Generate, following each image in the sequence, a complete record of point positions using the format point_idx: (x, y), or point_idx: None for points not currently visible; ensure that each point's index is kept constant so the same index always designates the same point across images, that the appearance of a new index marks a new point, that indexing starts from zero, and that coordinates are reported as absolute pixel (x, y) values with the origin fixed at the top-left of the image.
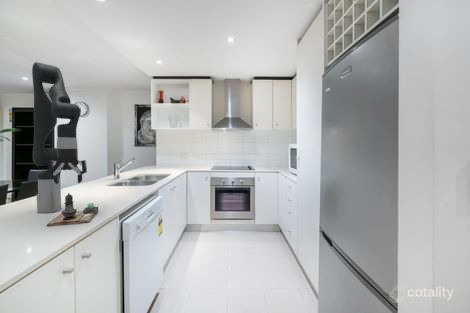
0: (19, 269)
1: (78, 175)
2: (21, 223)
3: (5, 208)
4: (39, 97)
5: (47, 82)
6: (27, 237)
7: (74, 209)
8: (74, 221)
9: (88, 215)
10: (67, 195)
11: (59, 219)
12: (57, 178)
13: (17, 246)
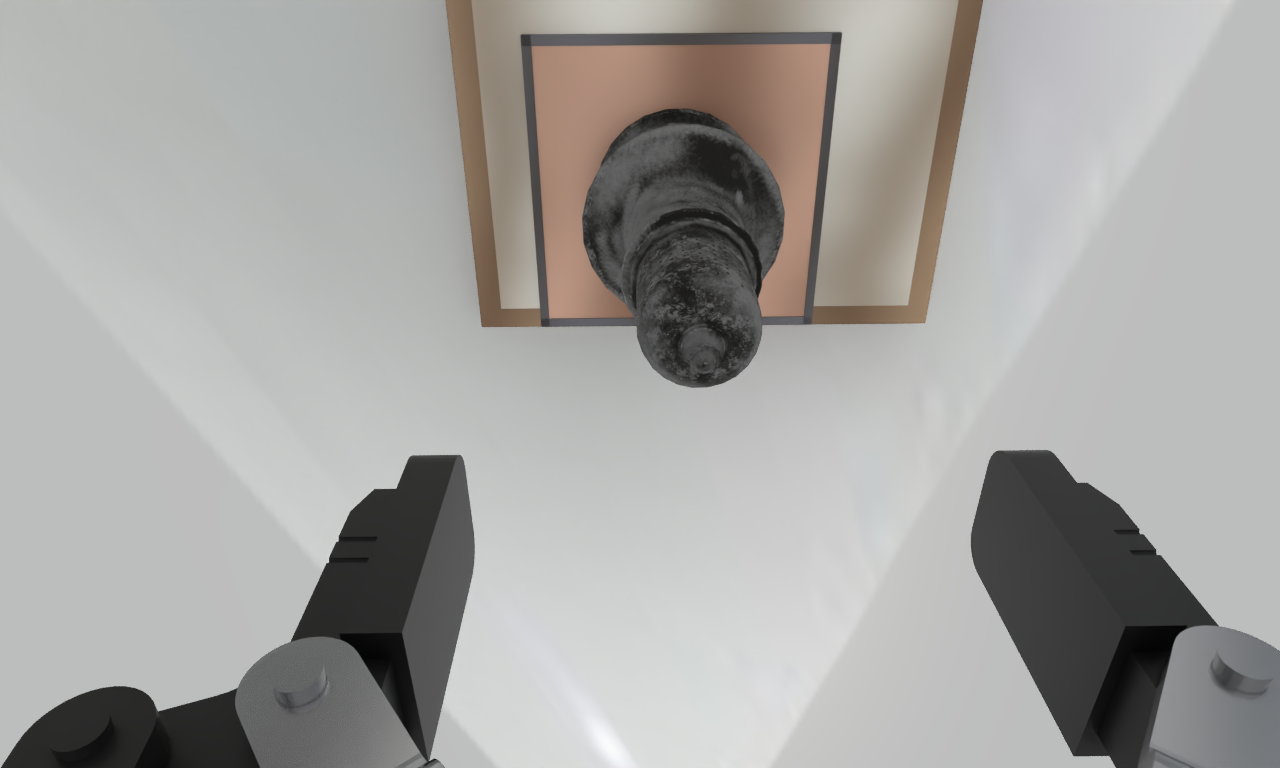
0: None
1: (1096, 744)
2: (82, 89)
3: None
4: None
5: None
6: None
7: (755, 231)
8: (765, 321)
9: (898, 83)
10: (686, 373)
11: (558, 193)
12: (445, 652)
13: (499, 686)
